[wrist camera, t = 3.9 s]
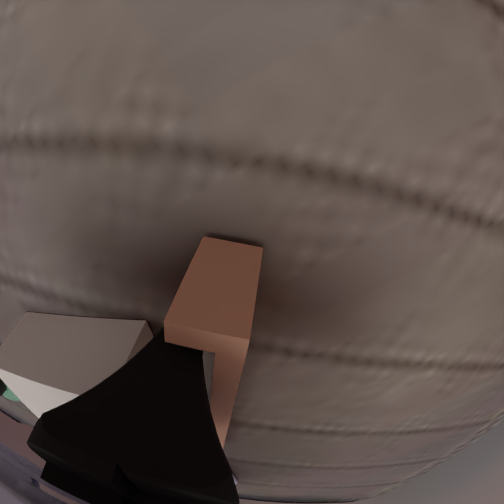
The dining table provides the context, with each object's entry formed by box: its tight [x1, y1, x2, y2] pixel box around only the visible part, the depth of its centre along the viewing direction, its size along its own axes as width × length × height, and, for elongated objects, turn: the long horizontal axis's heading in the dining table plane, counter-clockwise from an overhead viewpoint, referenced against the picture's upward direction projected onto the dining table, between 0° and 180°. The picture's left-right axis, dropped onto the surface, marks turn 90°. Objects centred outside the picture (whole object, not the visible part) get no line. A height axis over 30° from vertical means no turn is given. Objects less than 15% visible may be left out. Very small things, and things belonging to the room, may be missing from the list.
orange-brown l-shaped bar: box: [164, 236, 263, 449], centre depth 14 cm, size 19×2×4 cm, turn 171°
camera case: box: [0, 312, 154, 418], centre depth 16 cm, size 12×10×6 cm
